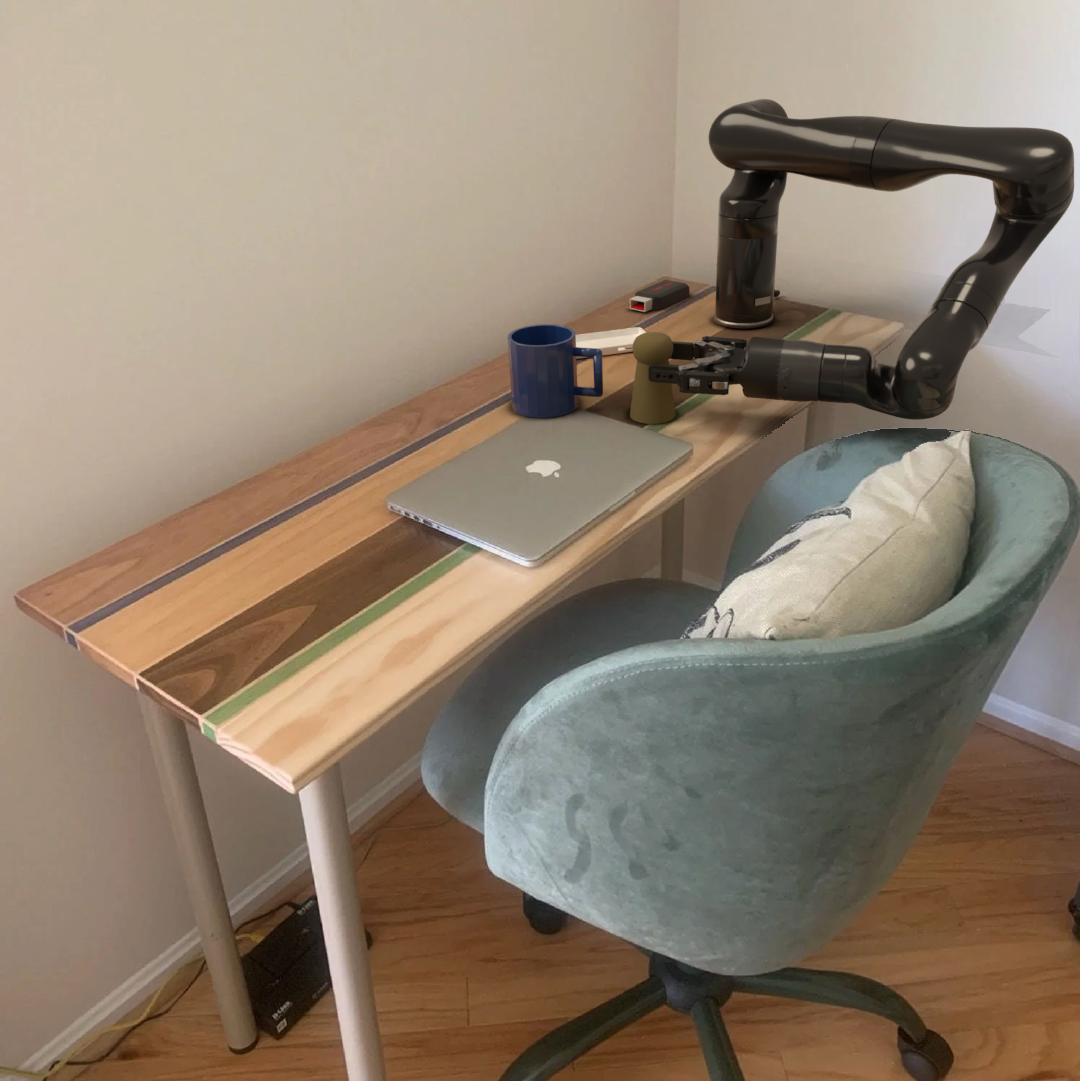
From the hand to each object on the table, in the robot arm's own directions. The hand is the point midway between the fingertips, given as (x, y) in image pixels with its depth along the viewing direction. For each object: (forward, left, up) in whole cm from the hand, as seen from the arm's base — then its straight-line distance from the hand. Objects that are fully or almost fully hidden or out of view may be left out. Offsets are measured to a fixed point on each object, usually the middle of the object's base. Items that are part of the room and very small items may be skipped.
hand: (657, 360), depth 134 cm
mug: (0, -14, -8) cm, 16 cm away
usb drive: (-48, -12, -8) cm, 50 cm away
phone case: (-24, -15, -8) cm, 29 cm away
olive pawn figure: (0, -1, -8) cm, 8 cm away
